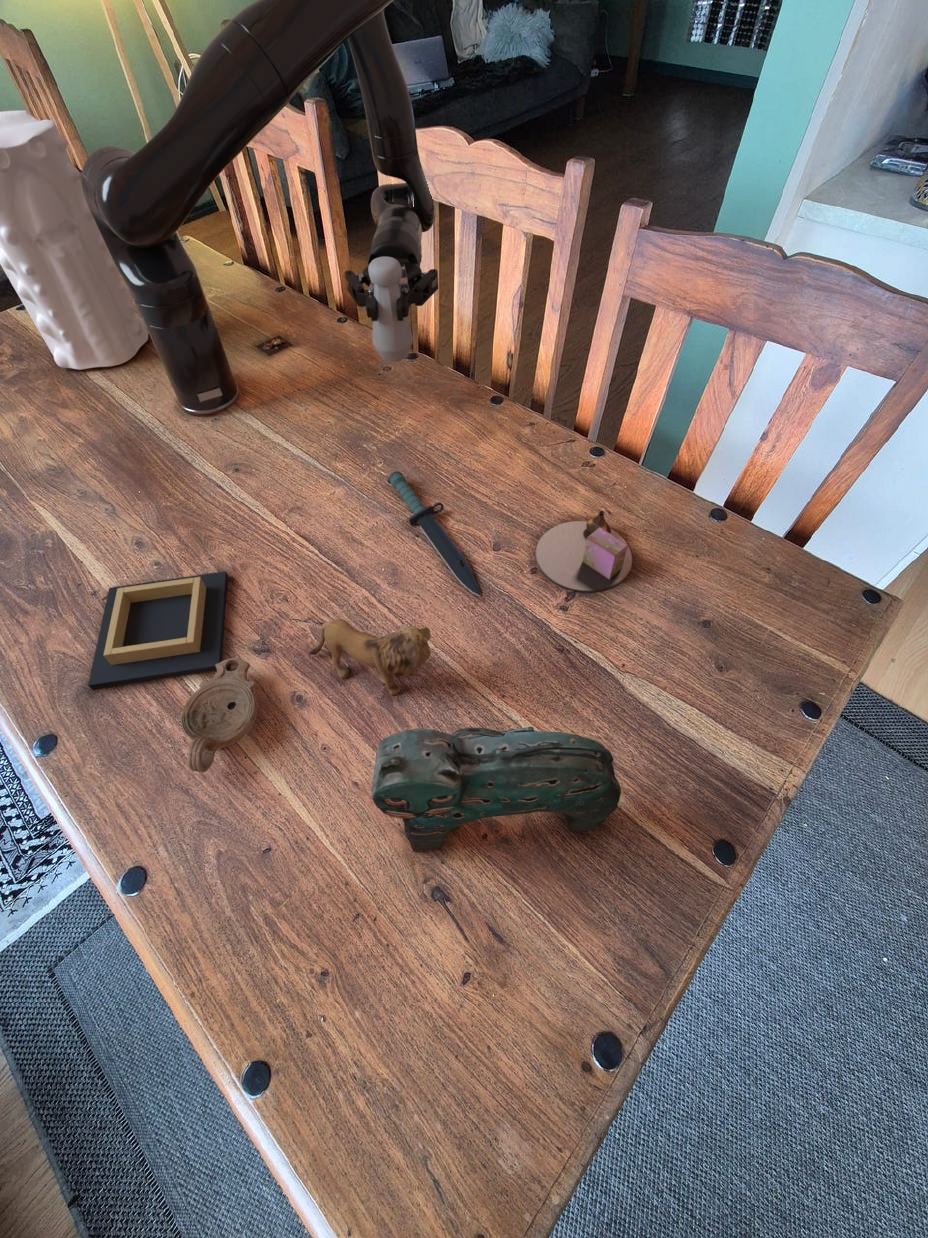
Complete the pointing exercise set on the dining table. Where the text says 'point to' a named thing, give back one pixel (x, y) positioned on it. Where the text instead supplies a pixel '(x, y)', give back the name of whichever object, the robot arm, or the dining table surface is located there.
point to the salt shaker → (389, 311)
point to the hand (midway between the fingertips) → (386, 314)
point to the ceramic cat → (490, 779)
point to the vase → (60, 251)
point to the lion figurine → (377, 649)
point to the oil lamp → (219, 712)
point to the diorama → (274, 345)
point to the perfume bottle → (584, 555)
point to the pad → (161, 630)
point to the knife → (435, 533)
